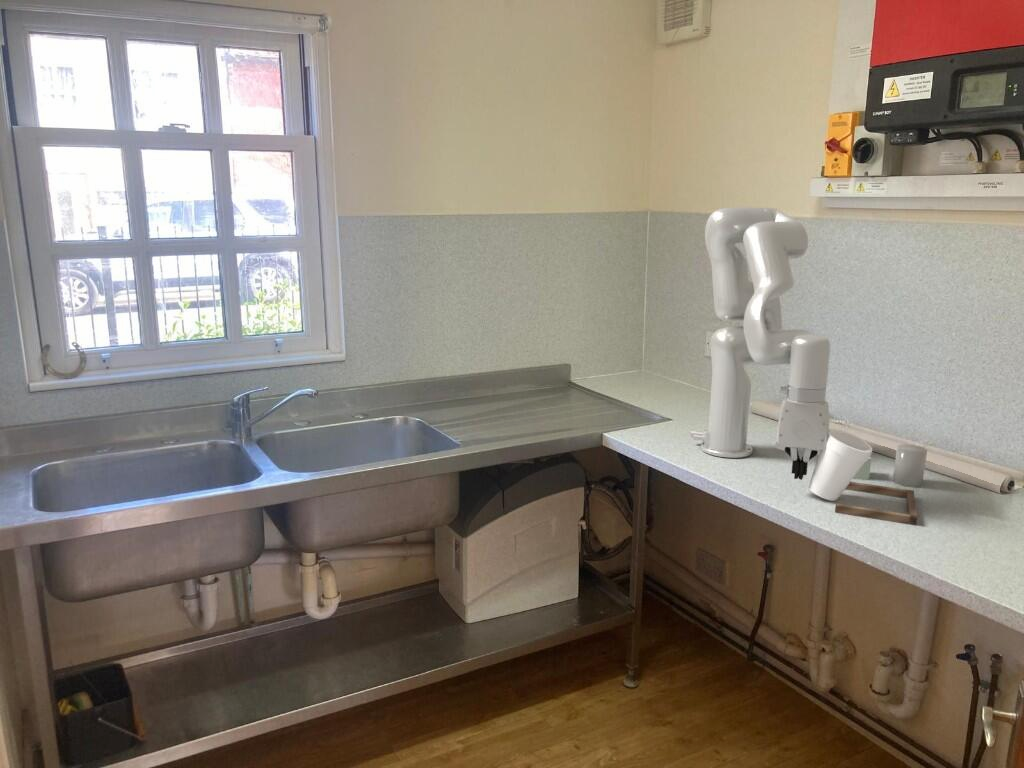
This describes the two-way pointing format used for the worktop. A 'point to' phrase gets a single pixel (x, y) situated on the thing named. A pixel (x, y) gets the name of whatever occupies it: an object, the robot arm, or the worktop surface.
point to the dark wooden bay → (880, 514)
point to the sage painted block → (864, 470)
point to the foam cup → (838, 464)
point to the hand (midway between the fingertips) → (798, 477)
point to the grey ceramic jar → (909, 465)
